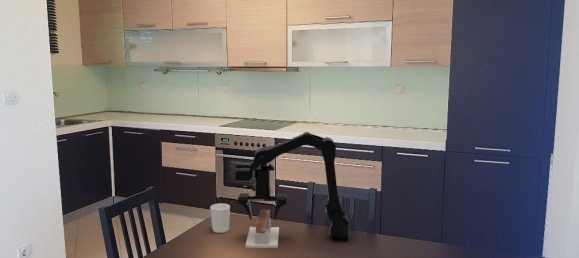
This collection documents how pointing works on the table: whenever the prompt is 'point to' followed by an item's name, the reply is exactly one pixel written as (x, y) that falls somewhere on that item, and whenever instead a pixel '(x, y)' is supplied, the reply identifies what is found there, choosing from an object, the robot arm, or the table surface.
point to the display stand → (263, 238)
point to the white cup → (220, 217)
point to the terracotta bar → (262, 221)
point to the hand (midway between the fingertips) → (263, 219)
